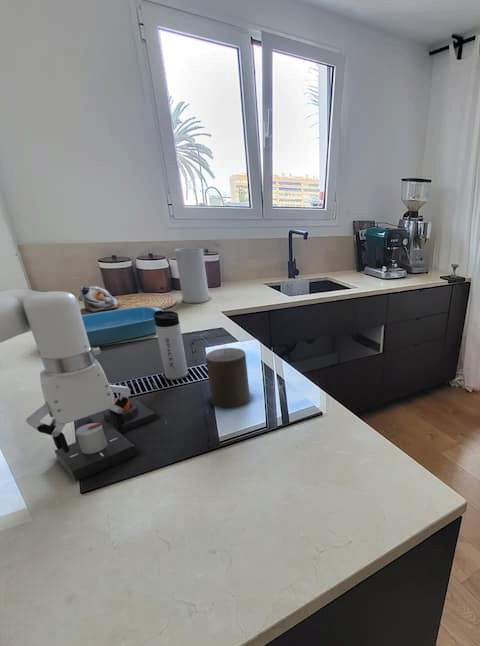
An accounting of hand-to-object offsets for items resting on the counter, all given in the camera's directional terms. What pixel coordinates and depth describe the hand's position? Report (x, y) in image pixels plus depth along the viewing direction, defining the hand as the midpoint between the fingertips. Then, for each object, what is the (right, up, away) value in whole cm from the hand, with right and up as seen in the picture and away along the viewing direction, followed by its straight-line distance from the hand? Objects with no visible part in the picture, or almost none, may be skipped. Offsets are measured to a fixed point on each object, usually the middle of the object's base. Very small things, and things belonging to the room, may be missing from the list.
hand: (93, 438), depth 79 cm
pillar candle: (+19, +5, +26) cm, 33 cm away
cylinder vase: (-30, +49, +121) cm, 134 cm away
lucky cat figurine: (-65, +41, +102) cm, 127 cm away
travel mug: (-1, +11, +39) cm, 40 cm away
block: (-3, +1, +15) cm, 15 cm away
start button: (-3, +4, +14) cm, 15 cm away
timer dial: (0, -2, +1) cm, 2 cm away
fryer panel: (0, -5, +2) cm, 5 cm away
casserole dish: (-40, +27, +71) cm, 85 cm away
